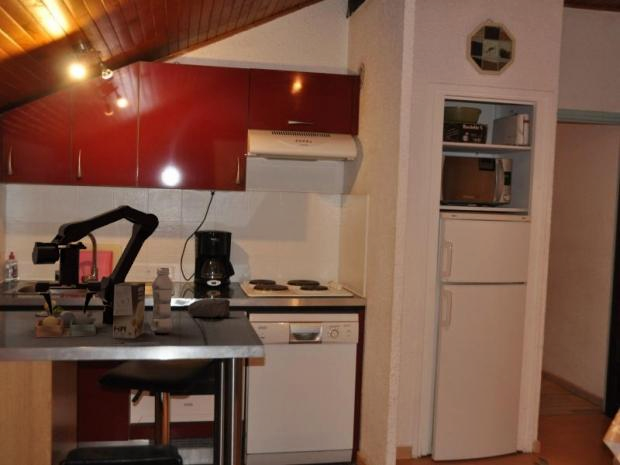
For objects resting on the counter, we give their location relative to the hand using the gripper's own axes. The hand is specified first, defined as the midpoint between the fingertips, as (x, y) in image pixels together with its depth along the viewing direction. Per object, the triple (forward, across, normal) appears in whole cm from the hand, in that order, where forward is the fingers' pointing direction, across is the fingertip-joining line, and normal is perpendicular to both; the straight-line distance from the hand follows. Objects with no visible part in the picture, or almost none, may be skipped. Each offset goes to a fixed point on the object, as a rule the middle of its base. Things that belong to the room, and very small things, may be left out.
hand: (68, 314), depth 180 cm
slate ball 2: (+4, -4, +7) cm, 9 cm away
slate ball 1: (+4, 0, 0) cm, 4 cm away
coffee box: (+5, -17, +17) cm, 25 cm away
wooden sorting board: (+5, 0, +6) cm, 8 cm away
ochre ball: (+4, +5, +7) cm, 9 cm away
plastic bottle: (+5, -27, +11) cm, 30 cm away
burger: (+5, +5, -25) cm, 26 cm away
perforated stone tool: (+5, -47, -17) cm, 50 cm away
